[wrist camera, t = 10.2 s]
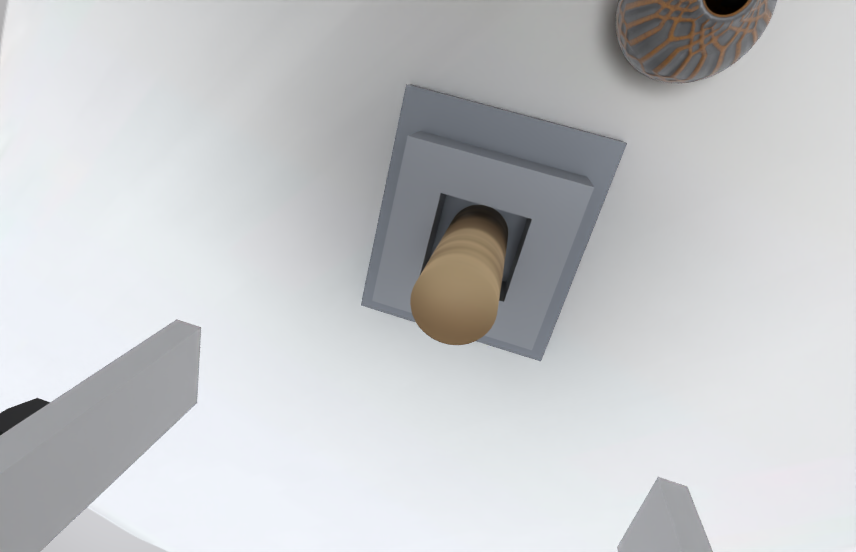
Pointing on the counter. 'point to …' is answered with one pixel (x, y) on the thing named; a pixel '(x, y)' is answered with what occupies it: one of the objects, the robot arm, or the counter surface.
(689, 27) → the vase
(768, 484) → the counter surface
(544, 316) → the socket
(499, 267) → the peg
